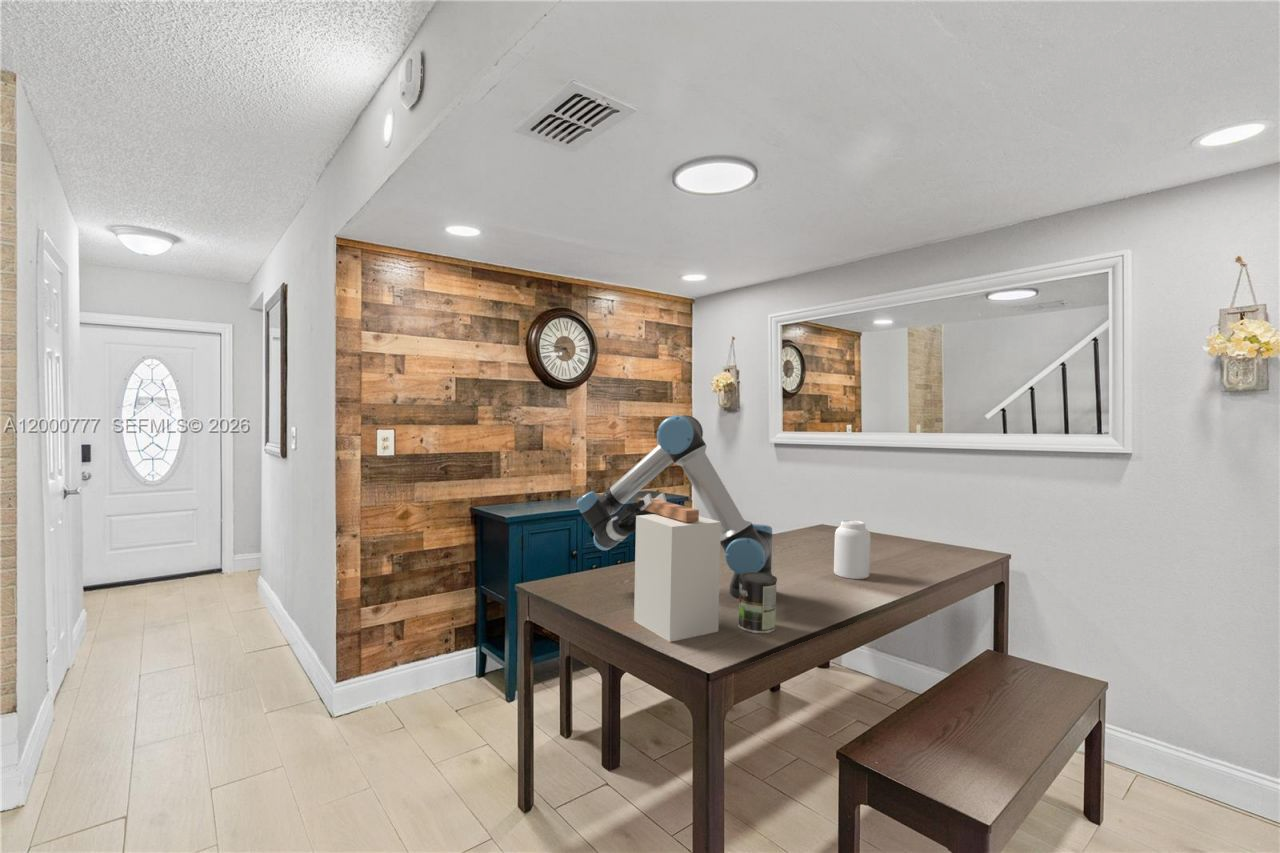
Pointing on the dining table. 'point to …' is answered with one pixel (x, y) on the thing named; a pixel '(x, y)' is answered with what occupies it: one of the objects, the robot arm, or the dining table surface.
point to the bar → (672, 510)
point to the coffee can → (757, 602)
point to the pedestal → (677, 576)
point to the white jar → (852, 550)
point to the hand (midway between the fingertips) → (657, 497)
